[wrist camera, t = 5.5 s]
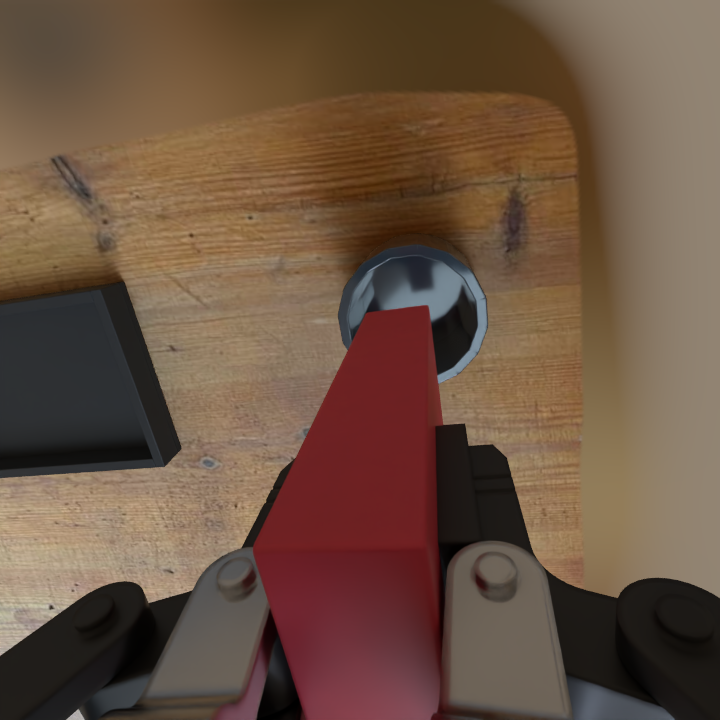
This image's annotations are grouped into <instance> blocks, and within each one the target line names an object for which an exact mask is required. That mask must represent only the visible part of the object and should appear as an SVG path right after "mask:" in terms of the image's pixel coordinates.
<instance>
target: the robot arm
mask: <svg viewBox="0 0 720 720" xmlns="http://www.w3.org/2000/svg"><path fill="white" fill-rule="evenodd" d="M435 432H436V477H437V522H438V546H439V554H440V561H441V568H442V575H443V583H444V590H445V611H444V627H443V643H442V660H441V676H440V693H439V704H438V710H437V713H435V712H434V713H433V714H432V716H431V720H720V598H718V597H717V596H715V595H714V594H712V593H710V592H708V591H706V590H704V589H702V588H699V587H697V586H695V585H692V584H689V583H686V582H682V581H678V580H673V579H667V578H648V579H643V580H638V581H636V582H634V583H631V584H630V585H628V586H627V587H626V588H624V590H623V591H622V592H621V593H620V595H619V597H618V598H614V597H611V596H607V595H602V594H599V593H595V592H591V591H586V590H584V589H580V588H577V587H574V586H572V585H570V584H567V583H565V582H564V581H562V580H560V579H558V578H557V577H555V576H554V575H552V574H551V573H550V572H548V571H547V570H546V569H545V568H544V567H543V566H542V565H541V564H540V562H539V561H538V560H537V558H536V557H535V555H534V553H533V550H532V548H531V544H530V541H529V537H528V533H527V530H526V526H525V522H524V519H523V515H522V512H521V508H520V504H519V501H518V497H517V494H516V492H515V486H514V483H513V479H512V477H511V472H510V468H509V465H508V461H507V458H506V457H505V456H504V455H503V454H502V453H501V452H500V451H499V450H498V449H497V448H496V447H495V446H494V445H493V444H492V445H477V446H468V441H467V434H466V427H465V424H452V425H439V426H435ZM295 459H296V458H295ZM295 459H294V460H293V461H292V462H291V463H289V464H288V465H287V466H286V467H285V468H284V469H283V470H282V471H281V472H280V474H279V476H278V478H277V480H276V482H275V484H274V486H273V490H271V492H270V493H269V495H268V497H267V499H266V503H264V505H263V507H262V509H261V511H260V513H259V515H258V517H257V519H256V521H255V523H254V525H253V527H252V528H251V530H250V532H249V534H248V536H247V538H246V540H245V542H244V544H243V546H242V548H241V549H238V550H235V551H232V552H230V553H228V554H226V555H224V556H222V557H220V558H219V559H217V560H216V561H215V562H213V563H212V564H211V565H210V566H209V567H208V568H207V569H206V570H205V571H204V572H203V573H202V575H201V576H200V578H199V579H198V581H197V583H196V585H195V587H194V589H193V590H192V591H189V592H186V593H183V594H179V595H176V596H172V597H169V598H165V599H162V600H158V601H155V602H151V603H148V601H147V598H146V596H145V594H144V592H143V589H142V588H141V587H140V586H139V585H138V584H136V583H133V582H125V581H124V582H116V583H112V584H108V585H105V586H103V587H100V588H98V589H96V590H94V591H92V592H90V593H88V594H87V595H85V596H84V597H82V598H81V599H79V600H78V601H76V602H75V603H73V604H72V605H71V606H69V607H68V608H67V609H65V610H64V611H62V612H61V613H60V614H58V615H57V616H55V617H54V618H53V619H51V620H50V621H48V622H47V623H46V624H44V625H43V626H41V627H40V628H39V629H37V630H36V631H34V632H33V633H32V634H30V635H29V636H27V637H26V638H25V639H23V640H22V641H20V642H19V643H18V644H16V645H15V646H13V647H12V648H11V649H9V650H8V651H6V652H5V653H4V654H2V655H1V656H0V720H66V719H67V718H68V717H70V716H71V715H72V714H73V713H74V712H75V711H76V710H78V709H79V710H80V712H81V714H82V716H83V717H84V719H85V720H306V719H305V715H304V712H303V709H302V706H301V703H300V700H299V697H298V693H297V690H296V687H295V684H294V681H293V678H292V675H291V671H290V668H289V665H288V662H287V659H286V656H285V653H284V649H283V646H282V643H281V640H280V637H279V634H278V631H277V627H276V624H275V621H274V618H273V615H272V612H271V609H270V606H269V602H268V599H267V596H266V593H265V590H264V587H263V584H262V580H261V577H260V574H259V571H258V568H257V565H256V562H255V558H254V555H253V546H254V543H255V541H256V539H257V537H258V535H259V533H260V531H261V529H262V527H263V525H264V523H265V520H266V518H267V516H268V514H269V512H270V510H271V508H272V506H273V504H274V502H275V500H276V498H277V496H278V494H279V492H280V490H281V488H282V485H283V483H284V481H285V479H286V477H287V475H288V473H289V471H290V469H291V467H292V465H293V463H294V461H295Z"/></svg>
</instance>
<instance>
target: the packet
mask: <svg viewBox="0 0 720 720" xmlns="http://www.w3.org/2000/svg"><path fill="white" fill-rule="evenodd" d="M439 425H443V419H442V411H441V402H440V394H439V386H438V377H437V369H436V361H435V352H434V344H433V335H432V327H431V319H430V310H429V306H428V305H421V306H414V307H406V308H398V309H390V310H382V311H375V312H368V313H366V314H365V316H364V318H363V321H362V323H361V325H360V327H359V329H358V331H357V333H356V335H355V337H354V339H353V341H352V343H351V345H350V347H349V349H348V351H347V354H346V356H345V358H344V360H343V362H342V364H341V366H340V368H339V370H338V372H337V374H336V376H335V378H334V380H333V382H332V384H331V386H330V389H329V391H328V393H327V395H326V397H325V399H324V401H323V403H322V405H321V407H320V409H319V411H318V413H317V415H316V417H315V419H314V422H313V424H312V426H311V428H310V430H309V432H308V434H307V436H306V438H305V440H304V442H303V444H302V446H301V448H300V450H299V452H298V455H297V457H296V459H295V461H294V463H293V465H292V467H291V469H290V471H289V473H288V475H287V477H286V479H285V481H284V483H283V485H282V488H281V490H280V492H279V494H278V496H277V498H276V500H275V502H274V504H273V506H272V508H271V510H270V512H269V514H268V516H267V518H266V520H265V523H264V525H263V527H262V529H261V531H260V533H259V535H258V537H257V539H256V541H255V543H254V546H253V555H254V558H255V562H256V565H257V568H258V571H259V574H260V577H261V580H262V584H263V587H264V590H265V593H266V596H267V599H268V602H269V606H270V609H271V612H272V615H273V618H274V621H275V624H276V627H277V631H278V634H279V637H280V640H281V643H282V646H283V649H284V653H285V656H286V659H287V662H288V665H289V668H290V671H291V675H292V678H293V681H294V684H295V687H296V690H297V693H298V697H299V700H300V703H301V706H302V709H303V712H304V715H305V719H306V720H431V716H432V714H433V713H434V712H435V713H437V710H438V704H439V693H440V676H441V660H442V643H443V627H444V611H445V590H444V583H443V575H442V568H441V561H440V554H439V546H438V522H437V477H436V432H435V426H439Z"/></svg>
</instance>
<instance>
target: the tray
mask: <svg viewBox="0 0 720 720" xmlns="http://www.w3.org/2000/svg"><path fill="white" fill-rule="evenodd" d="M180 450H181V446H180V443H179V440H178V437H177V434H176V432H175V429H174V426H173V423H172V420H171V417H170V414H169V411H168V408H167V405H166V403H165V400H164V397H163V394H162V391H161V388H160V385H159V382H158V379H157V376H156V374H155V371H154V368H153V365H152V362H151V359H150V356H149V353H148V350H147V347H146V345H145V342H144V339H143V336H142V333H141V330H140V327H139V324H138V321H137V318H136V316H135V313H134V310H133V307H132V304H131V301H130V298H129V295H128V292H127V289H126V287H125V284H124V282H118V283H111V284H105V285H99V286H92V287H86V288H80V289H73V290H67V291H61V292H54V293H48V294H41V295H35V296H29V297H22V298H16V299H10V300H3V301H0V478H7V477H22V476H37V475H51V474H66V473H81V472H95V471H110V470H125V469H140V468H154V467H165V466H166V465H167V464H168V463H169V462H170V461H171V460H172V458H173V457H174V456H175V455H176V454H177V453H178V452H179V451H180Z"/></svg>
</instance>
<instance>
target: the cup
mask: <svg viewBox="0 0 720 720" xmlns="http://www.w3.org/2000/svg"><path fill="white" fill-rule="evenodd" d="M421 305H428V306H429V310H430V319H431V327H432V335H433V344H434V352H435V361H436V369H437V377H438V384H439V383H441V382H444V381H446V380H448V379H450V378H452V377H454V376H456V375H458V374H459V373H461V372H462V370H463V369H464V368H465V367H466V366H467V365H468V364H469V363H470V362H471V361H472V360H473V359H474V357H475V356H476V355H477V354H478V353H479V350H480V348H481V345H482V342H483V339H484V337H485V334H486V331H487V328H488V314H487V299H486V296H485V294H484V292H483V290H482V288H481V286H480V284H479V282H478V280H477V278H476V276H475V275H474V273H473V271H472V269H471V267H470V265H469V263H468V261H467V259H466V257H465V256H464V255H463V254H462V253H461V252H460V251H459V250H457V249H456V248H455V247H454V246H453V245H451V244H450V243H448V242H447V241H446V240H444V239H441V238H438V237H435V236H432V235H427V234H421V233H414V234H405V235H401V236H397V237H393V238H392V239H390V240H388V241H386V242H384V243H383V244H381V245H380V246H379V247H377V248H375V249H374V250H373V251H372V252H371V253H370V254H369V255H368V257H367V258H366V259H365V260H364V261H363V262H362V264H361V265H360V266H359V267H358V269H357V270H356V272H355V273H354V274H353V276H352V277H351V279H350V280H349V281H348V283H347V284H346V285H345V288H344V290H343V294H342V298H341V303H340V307H339V312H338V319H339V325H340V330H341V336H342V341H343V344H344V345H345V347H346V348H347V350H348V349H349V347H350V345H351V343H352V341H353V339H354V337H355V335H356V333H357V331H358V329H359V327H360V325H361V323H362V321H363V318H364V316H365V314H366V313H368V312H375V311H382V310H390V309H398V308H406V307H414V306H421Z"/></svg>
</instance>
